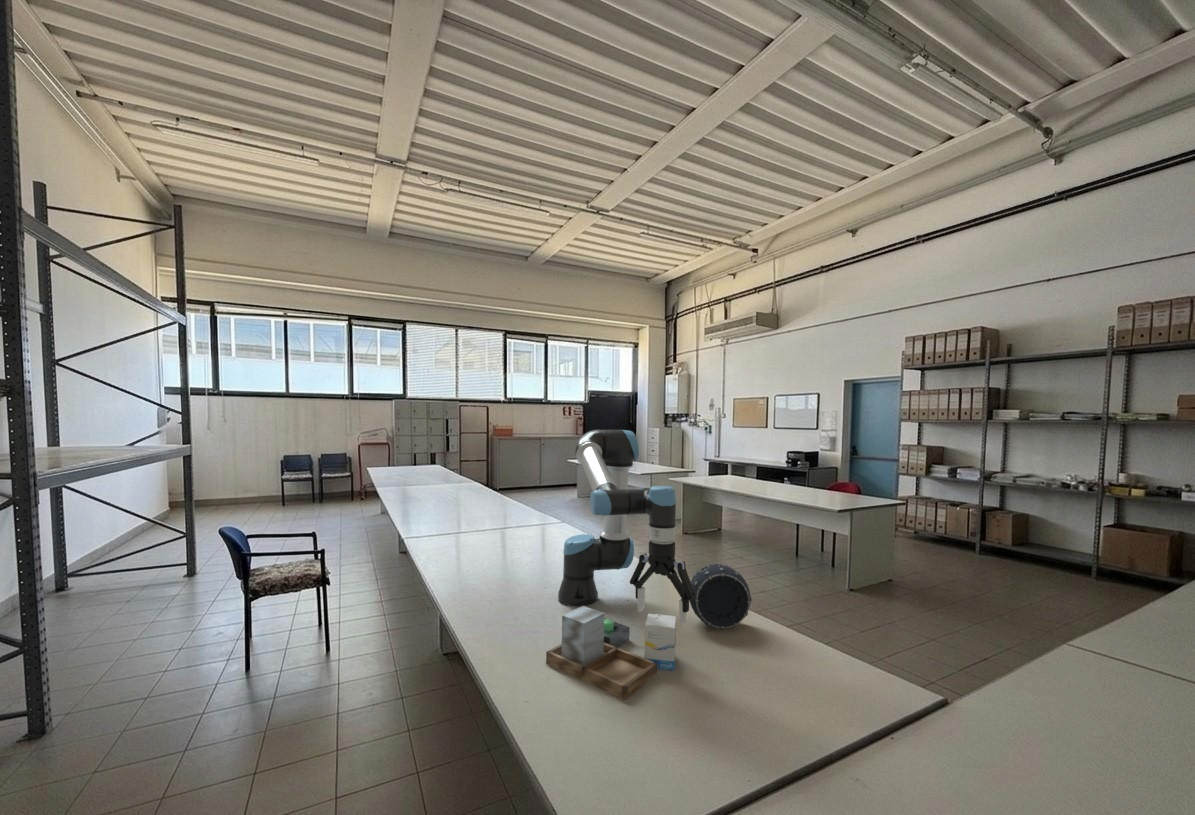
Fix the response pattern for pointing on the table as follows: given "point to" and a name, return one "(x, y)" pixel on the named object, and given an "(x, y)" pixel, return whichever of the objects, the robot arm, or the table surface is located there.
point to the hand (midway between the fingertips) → (661, 616)
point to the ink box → (660, 640)
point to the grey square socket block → (617, 635)
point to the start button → (608, 625)
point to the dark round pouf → (720, 596)
